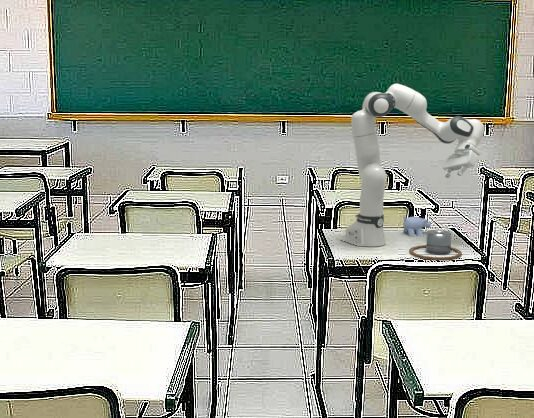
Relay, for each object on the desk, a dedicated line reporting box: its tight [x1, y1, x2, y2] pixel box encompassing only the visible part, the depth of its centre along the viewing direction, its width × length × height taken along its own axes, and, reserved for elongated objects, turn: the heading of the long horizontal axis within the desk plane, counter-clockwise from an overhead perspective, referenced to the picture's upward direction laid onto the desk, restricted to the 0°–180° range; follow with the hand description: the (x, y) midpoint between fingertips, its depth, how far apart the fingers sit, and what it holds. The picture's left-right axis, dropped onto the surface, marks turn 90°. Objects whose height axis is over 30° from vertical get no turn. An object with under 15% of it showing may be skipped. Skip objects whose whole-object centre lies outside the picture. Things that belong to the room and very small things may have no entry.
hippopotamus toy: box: [402, 215, 432, 237], centre depth 381 cm, size 11×15×10 cm
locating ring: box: [408, 244, 463, 261], centre depth 345 cm, size 23×23×1 cm
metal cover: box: [425, 229, 452, 256], centre depth 347 cm, size 11×11×10 cm
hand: (452, 176), depth 350 cm, fingers open, 8 cm apart
